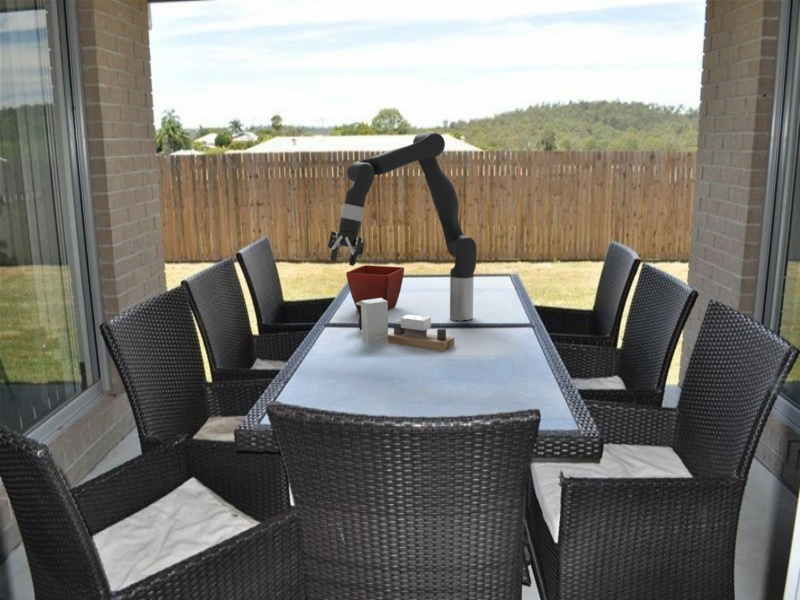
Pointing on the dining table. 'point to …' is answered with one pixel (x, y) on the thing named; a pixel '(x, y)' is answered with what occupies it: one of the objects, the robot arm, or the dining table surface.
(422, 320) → the lever cap
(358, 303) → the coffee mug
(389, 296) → the plant pot
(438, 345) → the body
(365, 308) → the skincare box
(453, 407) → the dining table surface
